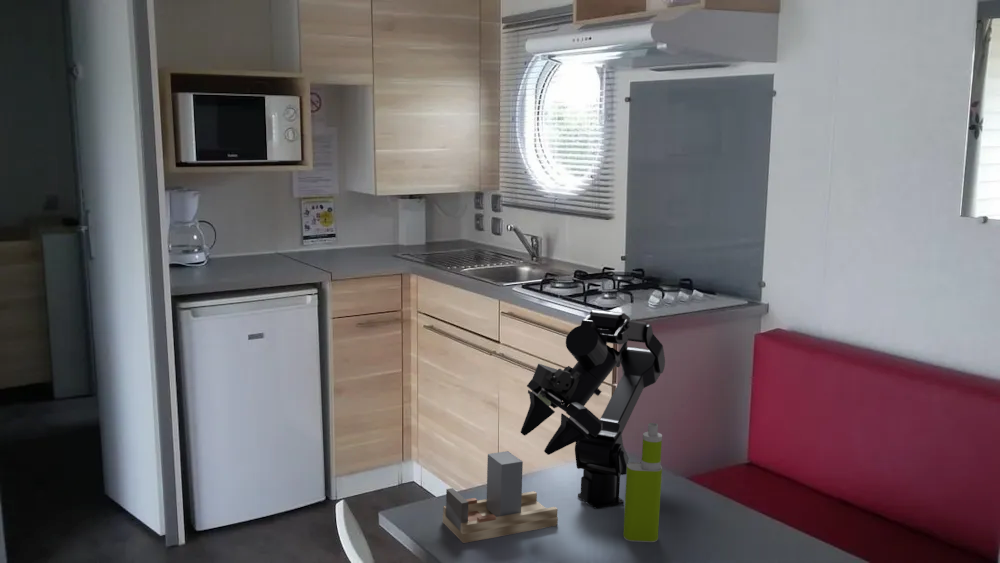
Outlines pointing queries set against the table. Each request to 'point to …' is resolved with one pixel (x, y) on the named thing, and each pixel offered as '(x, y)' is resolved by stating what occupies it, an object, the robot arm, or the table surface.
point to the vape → (644, 490)
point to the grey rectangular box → (504, 484)
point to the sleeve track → (494, 517)
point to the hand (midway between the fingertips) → (533, 443)
